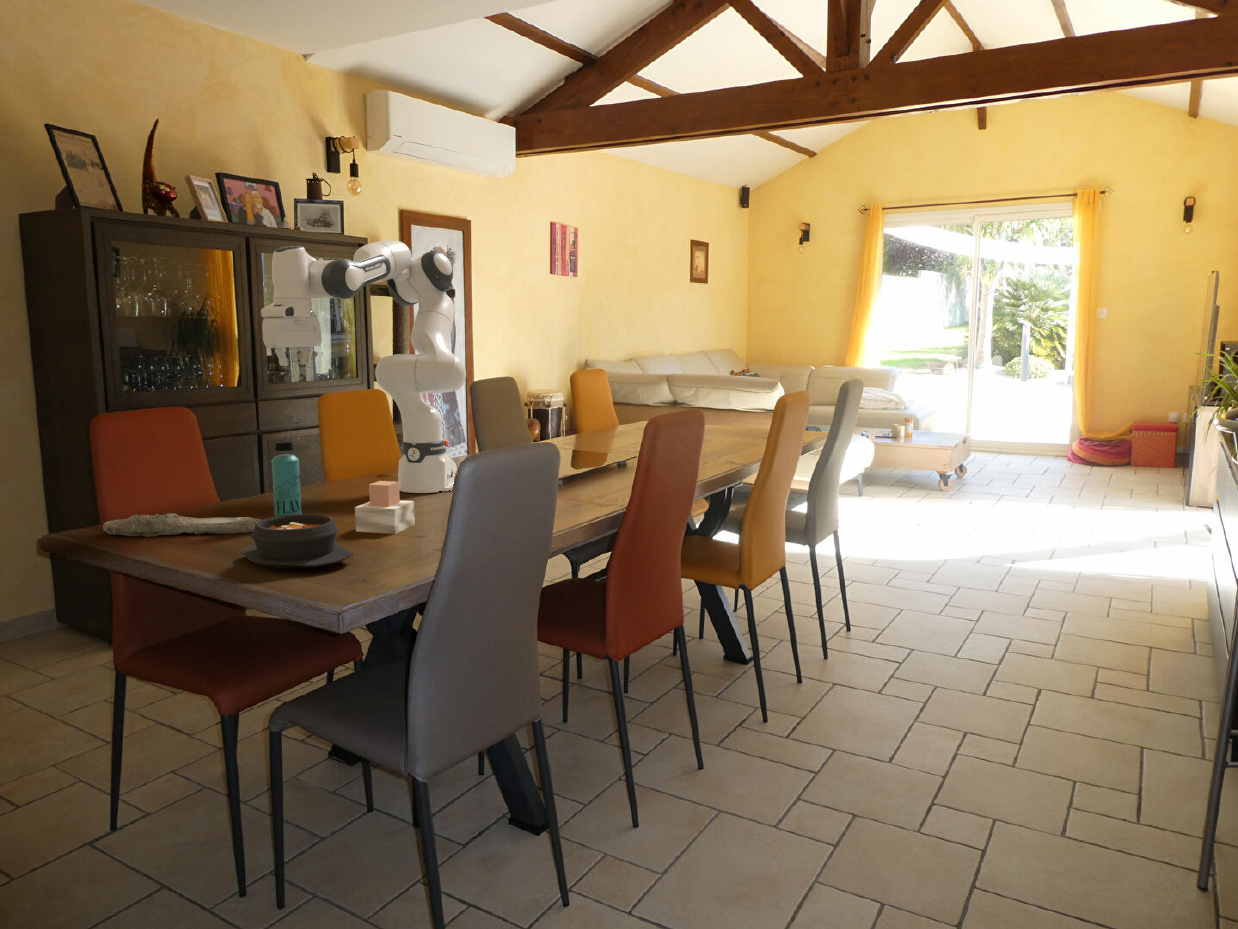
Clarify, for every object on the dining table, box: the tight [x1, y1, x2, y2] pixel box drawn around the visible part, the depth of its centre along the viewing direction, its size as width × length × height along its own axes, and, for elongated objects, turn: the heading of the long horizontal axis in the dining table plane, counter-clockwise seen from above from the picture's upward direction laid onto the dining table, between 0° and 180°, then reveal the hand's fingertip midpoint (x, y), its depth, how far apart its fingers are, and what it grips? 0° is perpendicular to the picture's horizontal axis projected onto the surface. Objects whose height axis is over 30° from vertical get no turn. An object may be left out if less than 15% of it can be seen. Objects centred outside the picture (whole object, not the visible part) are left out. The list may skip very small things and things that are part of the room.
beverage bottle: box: [271, 440, 303, 517], centre depth 216 cm, size 6×7×20 cm
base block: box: [354, 500, 416, 535], centre depth 213 cm, size 10×10×6 cm
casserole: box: [240, 513, 354, 569], centre depth 183 cm, size 25×19×8 cm
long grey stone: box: [102, 512, 263, 538], centre depth 209 cm, size 35×5×10 cm
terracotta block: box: [368, 480, 401, 507], centre depth 212 cm, size 5×5×5 cm
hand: (295, 364), depth 232 cm, fingers open, 8 cm apart
